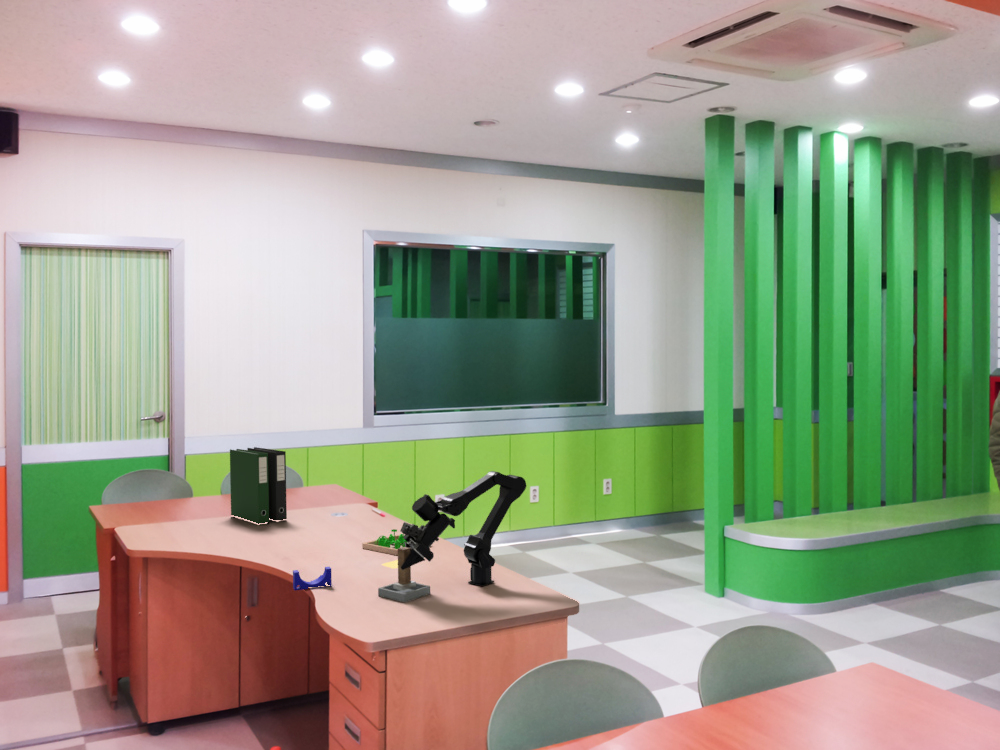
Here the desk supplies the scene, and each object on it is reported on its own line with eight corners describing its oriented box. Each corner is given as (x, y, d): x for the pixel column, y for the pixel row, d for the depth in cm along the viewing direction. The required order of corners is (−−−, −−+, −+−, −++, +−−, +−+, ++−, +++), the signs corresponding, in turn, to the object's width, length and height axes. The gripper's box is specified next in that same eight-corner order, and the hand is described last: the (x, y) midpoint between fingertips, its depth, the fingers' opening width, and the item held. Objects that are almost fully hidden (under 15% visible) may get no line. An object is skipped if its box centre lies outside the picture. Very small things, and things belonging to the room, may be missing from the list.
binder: (229, 517, 399) (228, 449, 398) (258, 513, 410) (257, 446, 409) (258, 525, 380) (257, 454, 379) (288, 520, 390) (286, 451, 390)
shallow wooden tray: (430, 545, 337) (430, 540, 337) (396, 555, 322) (396, 550, 322) (397, 539, 349) (397, 534, 349) (362, 548, 334) (362, 543, 334)
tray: (430, 593, 271) (430, 586, 271) (404, 602, 262) (404, 594, 262) (404, 587, 278) (404, 580, 278) (378, 596, 269) (378, 588, 269)
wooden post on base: (406, 584, 273) (406, 545, 273) (415, 586, 271) (415, 547, 270) (393, 588, 269) (392, 549, 268) (402, 590, 266) (401, 551, 266)
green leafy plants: (420, 545, 340) (420, 527, 340) (400, 553, 327) (400, 535, 326) (388, 541, 347) (388, 524, 346) (367, 549, 333) (367, 532, 333)
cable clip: (328, 583, 285) (328, 565, 285) (331, 586, 281) (331, 568, 281) (292, 587, 280) (292, 569, 280) (294, 591, 276) (294, 572, 276)
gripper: (408, 508, 279) (376, 544, 276) (422, 518, 262) (388, 557, 258) (432, 530, 282) (400, 566, 279) (447, 541, 264) (413, 580, 261)
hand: (400, 567), depth 269 cm, fingers closed on wooden post on base, 4 cm apart
